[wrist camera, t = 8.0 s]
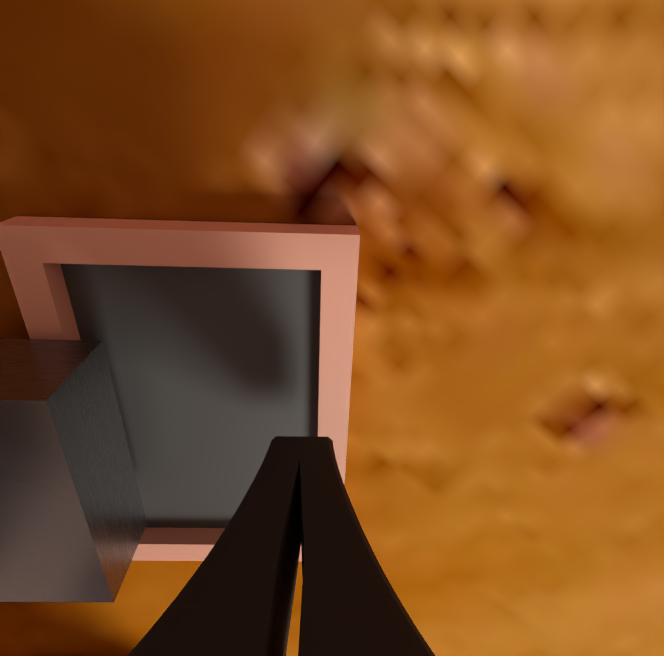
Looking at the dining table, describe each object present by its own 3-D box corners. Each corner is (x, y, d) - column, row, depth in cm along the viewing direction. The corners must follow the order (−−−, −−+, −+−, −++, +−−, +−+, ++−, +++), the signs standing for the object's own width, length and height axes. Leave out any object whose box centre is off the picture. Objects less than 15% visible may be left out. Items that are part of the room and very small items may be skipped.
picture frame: (339, 539, 15) (339, 561, 14) (114, 538, 15) (103, 560, 14) (357, 225, 10) (359, 235, 9) (16, 216, 10) (-9, 225, 9)
